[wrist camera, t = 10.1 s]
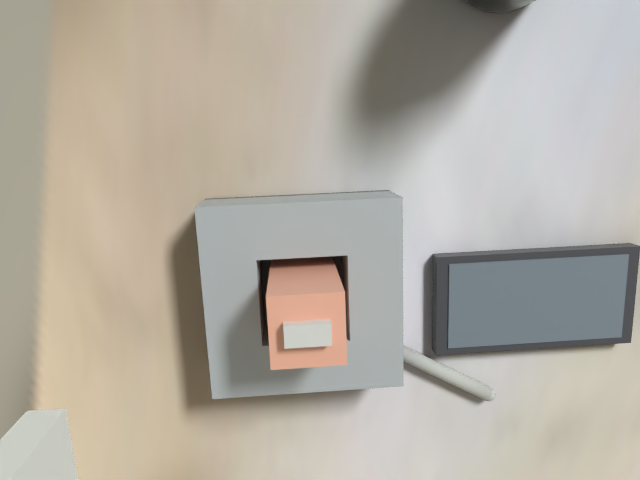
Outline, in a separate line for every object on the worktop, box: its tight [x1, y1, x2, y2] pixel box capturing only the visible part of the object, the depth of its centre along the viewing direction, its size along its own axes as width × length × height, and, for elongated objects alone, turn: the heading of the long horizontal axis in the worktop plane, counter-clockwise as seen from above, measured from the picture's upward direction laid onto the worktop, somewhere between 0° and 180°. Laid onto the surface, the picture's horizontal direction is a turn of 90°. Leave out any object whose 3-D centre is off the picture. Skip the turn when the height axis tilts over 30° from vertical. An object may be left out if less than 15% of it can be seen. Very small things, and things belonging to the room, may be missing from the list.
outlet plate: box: [194, 190, 403, 399], centre depth 32 cm, size 12×12×4 cm
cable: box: [403, 346, 495, 401], centre depth 35 cm, size 9×1×1 cm, turn 62°
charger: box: [266, 256, 347, 370], centre depth 29 cm, size 4×4×9 cm
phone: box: [432, 243, 640, 355], centre depth 34 cm, size 7×14×1 cm, turn 92°
